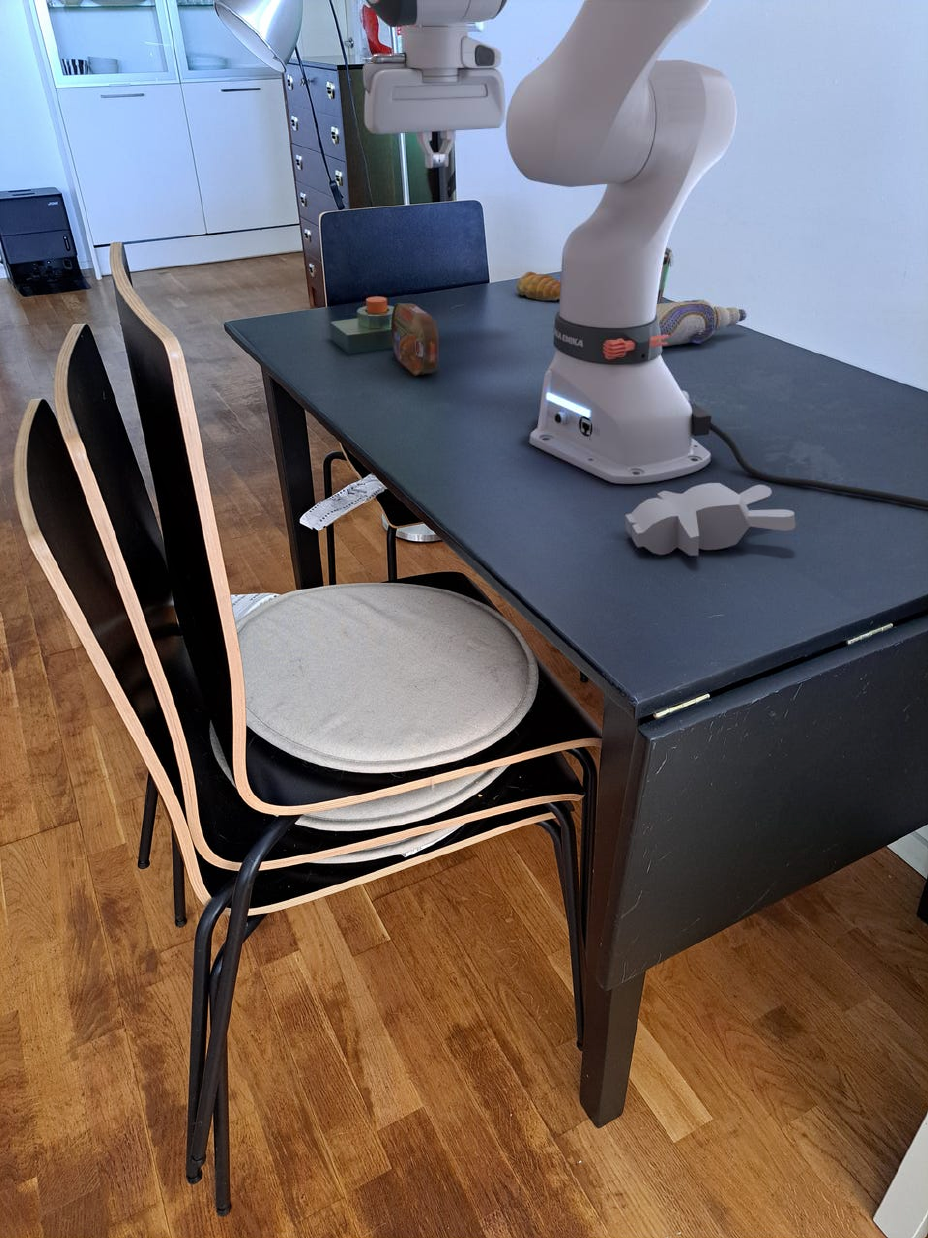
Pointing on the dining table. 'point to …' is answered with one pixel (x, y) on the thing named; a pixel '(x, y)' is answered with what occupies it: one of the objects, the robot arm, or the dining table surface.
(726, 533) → the bunny figurine
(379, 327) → the console
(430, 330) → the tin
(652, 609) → the dining table surface
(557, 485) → the dining table surface
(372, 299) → the button
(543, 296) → the pastry
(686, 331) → the decorative bottle
